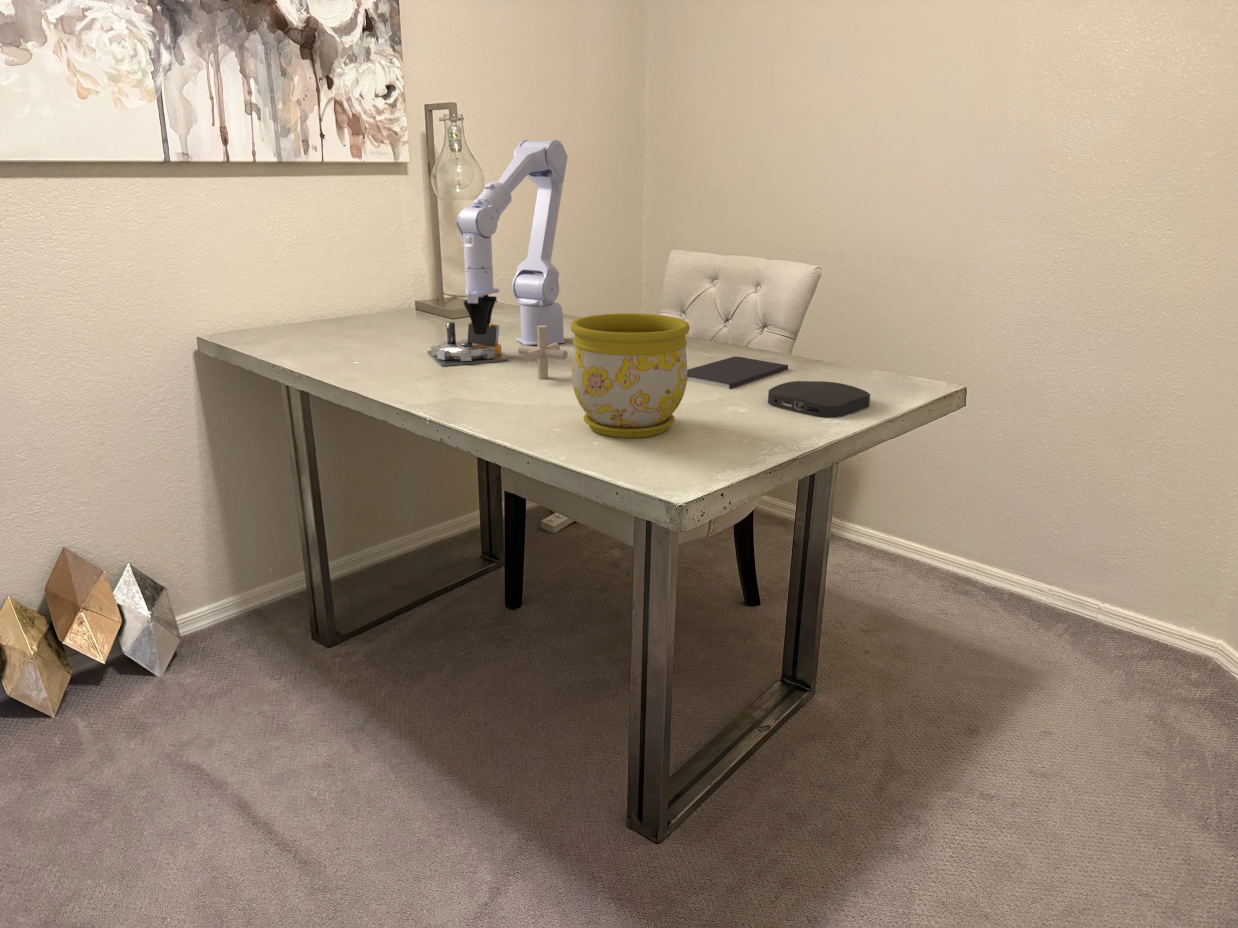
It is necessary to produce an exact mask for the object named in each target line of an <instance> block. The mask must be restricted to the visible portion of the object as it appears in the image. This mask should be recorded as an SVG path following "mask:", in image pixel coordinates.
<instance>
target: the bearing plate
mask: <svg viewBox="0 0 1238 928" xmlns="http://www.w3.org/2000/svg"><path fill="white" fill-rule="evenodd" d="M426 352H427V355H428V356H430V357H431V358H432V359H433V360H434V361H435V362H436V363H437V364H438V363H439V364H438V365H439V366H440V365H441V366H443V367H453V366H452V365H455V366H464V365H463V364H467V365H475V364H474V363H479V364H488V363H487V362H491V363H498V362H499V363H500V362H501V363H502V362H508V361H509V358H507V357H506V356H505V355H504V354H503V353H501V354H495V357H493V358H489V359H486V358H479V359H472V361H461V359H446V360H443V359H437V355H432V354H431V350H427V351H426ZM441 366H440V367H441Z"/></svg>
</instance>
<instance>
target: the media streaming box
mask: <svg viewBox="0 0 1238 928" xmlns="http://www.w3.org/2000/svg"><path fill="white" fill-rule="evenodd" d="M767 393H768V395H767V396H768V397H767V404H769V405H770V406H772V407H775V408H778V409H779V408H780V409H784V410H787V411H791V412H795V413H799V414H805V415H809V416H812V415H813V417H817V416H818V418H839V417H838V416H840V417H844V416H847V415H850V414H853V412H854V413H856V412H859V411H862V410H864V408H865V409H867V408H868V406H869V407H870V401H871V393H869V392H868V391H866V390H864V389H861V388H858V387H857V386H853V385H851V384H845V383H841V382H835V381H834V382H833V381H824V380H823V381H822V380H821V381H819V380H817V381H814V380H813V381H812V380H810V381H809V380H808V381H807V380H805V381H804V380H796V381H795V380H794V381H787V382H784V383H781V384H778V385H774V386H773V387H771V388H769V390H768V392H767ZM866 407H867V408H866ZM861 409H862V410H861ZM858 410H859V411H858ZM855 411H856V412H855ZM849 413H850V414H849ZM846 414H847V415H846ZM843 415H844V416H843Z"/></svg>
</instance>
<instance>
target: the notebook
mask: <svg viewBox="0 0 1238 928" xmlns="http://www.w3.org/2000/svg"><path fill="white" fill-rule="evenodd" d="M785 370H786V371H789V364H783V363H777V362H772V361H765V360H760V359H754V358H748V357H744V356H743V357H741V356H731V357H727V358H724V359H720V360H717V361H714V362H710V363H706V364H704V365H703V364H702V365H699V366H696V367H692V368H687V382H688V381H689V382H691V383H692V382H694V383H697V384H702V385H709V386H714V387H719V388H724V389H729V390H732V389H734V388H737V387H741V386H743V385H746V384H749V383H753V382H755V381H759V380H761V379H765V378H768V377H771V376H773V375H777V374H779V373H782V371H783V372H785Z"/></svg>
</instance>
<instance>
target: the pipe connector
mask: <svg viewBox="0 0 1238 928" xmlns="http://www.w3.org/2000/svg"><path fill="white" fill-rule="evenodd" d="M537 337H538V345H537V346H533V345H529V346H526V345H524V344H522V345H521V344H520V345H519V346H518V351H517V352H518V354H519V355H523V358H524V360H525V361H526V362H531V361H534V360H537V365H538V368H537V372H538V375H537V376H538V379H540V380H546V379H548V378H549V370H548V369H549V366H548V365H549V364H548V363H549V362H548V360H549V359H556V360H565V361H566V359H568V351H567V350H565V349H561V346H560V343H553V344H547V326H544V325H540V326H537Z"/></svg>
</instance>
